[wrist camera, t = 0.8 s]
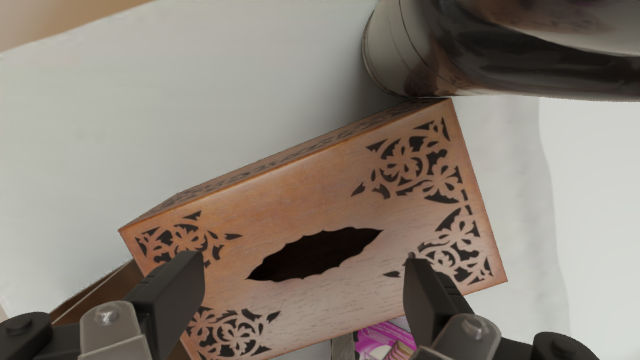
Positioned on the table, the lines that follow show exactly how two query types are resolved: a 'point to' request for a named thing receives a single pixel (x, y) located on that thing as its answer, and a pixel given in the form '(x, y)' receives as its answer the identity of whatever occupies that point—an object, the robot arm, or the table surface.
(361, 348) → the candy bar box
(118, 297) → the shelf
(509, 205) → the table surface
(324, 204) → the tissue box cover
